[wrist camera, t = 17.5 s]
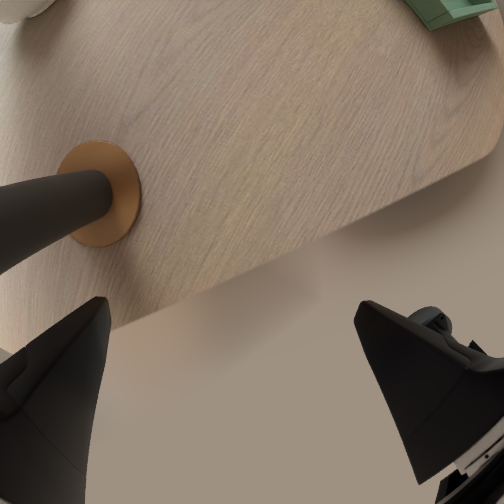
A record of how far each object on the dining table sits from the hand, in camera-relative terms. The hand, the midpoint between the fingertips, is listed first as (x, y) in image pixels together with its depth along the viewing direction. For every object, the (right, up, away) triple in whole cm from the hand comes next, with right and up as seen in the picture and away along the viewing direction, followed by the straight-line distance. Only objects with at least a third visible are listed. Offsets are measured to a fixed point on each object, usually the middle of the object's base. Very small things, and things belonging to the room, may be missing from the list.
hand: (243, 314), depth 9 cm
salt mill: (-12, +6, +9) cm, 17 cm away
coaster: (-12, +7, +10) cm, 17 cm away
